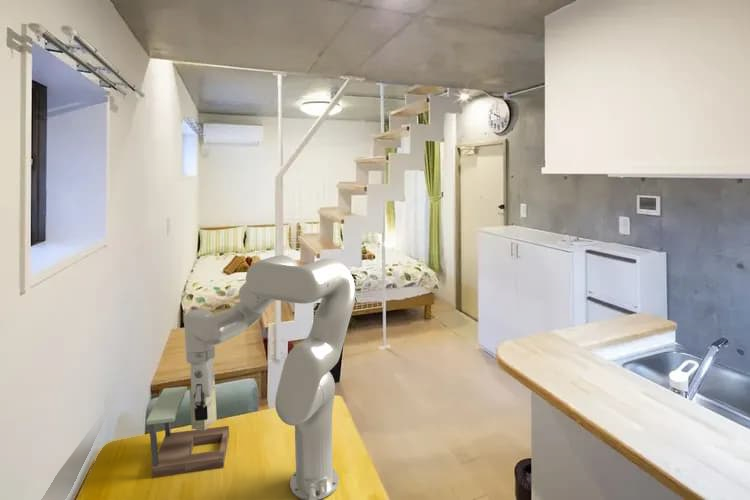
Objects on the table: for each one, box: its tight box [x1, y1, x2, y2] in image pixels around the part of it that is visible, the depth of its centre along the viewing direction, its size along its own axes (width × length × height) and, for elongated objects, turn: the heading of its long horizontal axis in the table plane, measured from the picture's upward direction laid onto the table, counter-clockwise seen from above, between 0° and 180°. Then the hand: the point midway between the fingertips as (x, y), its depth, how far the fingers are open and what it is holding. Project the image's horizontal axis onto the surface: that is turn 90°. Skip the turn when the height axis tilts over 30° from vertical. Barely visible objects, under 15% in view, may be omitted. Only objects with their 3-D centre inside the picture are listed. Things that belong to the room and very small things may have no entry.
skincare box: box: [189, 380, 217, 430], centre depth 119 cm, size 6×4×12 cm
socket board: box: [145, 386, 230, 479], centre depth 119 cm, size 18×18×17 cm
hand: (203, 411), depth 120 cm, fingers closed on skincare box, 7 cm apart
